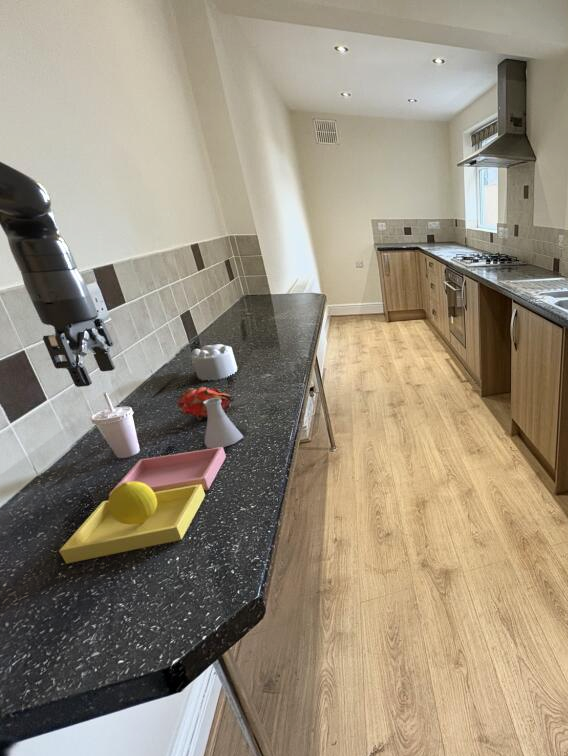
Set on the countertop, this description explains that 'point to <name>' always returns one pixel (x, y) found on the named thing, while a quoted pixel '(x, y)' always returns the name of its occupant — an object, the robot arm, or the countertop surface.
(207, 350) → the lumpy-topped squat cylinder
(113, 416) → the smoothie
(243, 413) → the countertop surface
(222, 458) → the rose tray
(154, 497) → the lemon
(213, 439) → the flask
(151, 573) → the countertop surface
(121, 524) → the yellow tray
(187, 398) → the dragon fruit
